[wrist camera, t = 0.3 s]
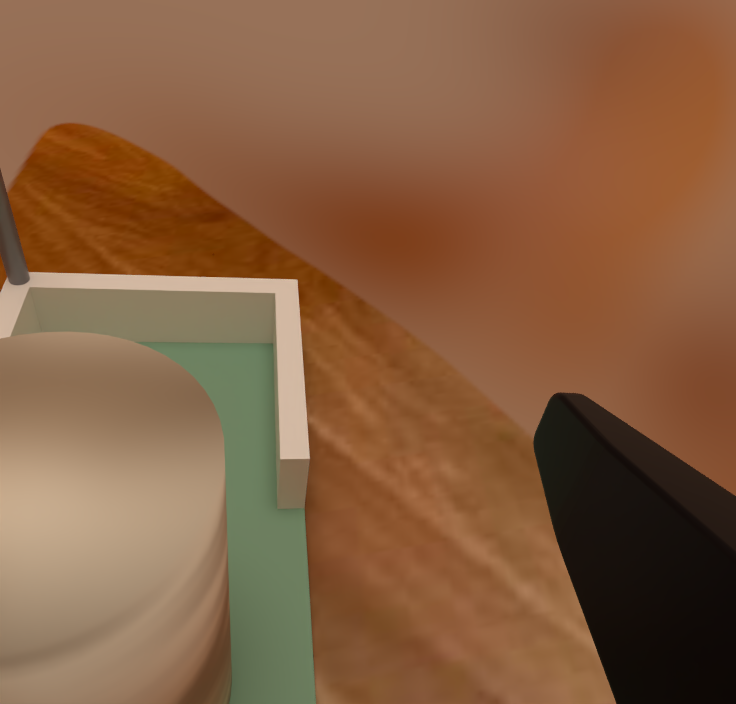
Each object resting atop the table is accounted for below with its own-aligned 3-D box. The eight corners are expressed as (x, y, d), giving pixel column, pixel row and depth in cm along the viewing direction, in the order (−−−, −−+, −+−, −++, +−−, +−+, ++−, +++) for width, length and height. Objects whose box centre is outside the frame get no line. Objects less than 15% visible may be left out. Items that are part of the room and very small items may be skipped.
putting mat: (322, 883, 18) (326, 876, 17) (-185, 948, 16) (-205, 943, 15) (292, 331, 34) (293, 315, 33) (35, 327, 31) (30, 311, 31)
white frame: (304, 508, 25) (345, 125, 15) (-47, 518, 23) (-279, 82, 13) (293, 329, 32) (317, -12, 22) (25, 325, 30) (-87, -54, 20)
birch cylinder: (228, 817, 18) (216, 638, 10) (-61, 849, 17) (-310, 671, 9) (234, 573, 23) (230, 333, 15) (13, 583, 22) (-110, 328, 14)
